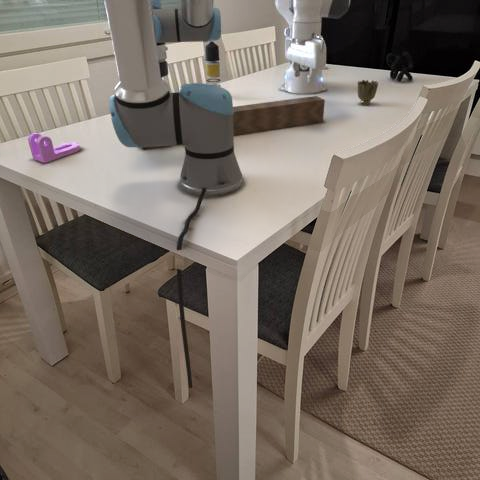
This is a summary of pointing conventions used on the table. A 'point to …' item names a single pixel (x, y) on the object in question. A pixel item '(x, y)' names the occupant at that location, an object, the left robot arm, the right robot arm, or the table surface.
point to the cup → (366, 91)
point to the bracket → (49, 148)
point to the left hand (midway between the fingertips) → (162, 141)
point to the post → (276, 115)
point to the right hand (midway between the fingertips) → (303, 79)
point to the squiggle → (399, 66)
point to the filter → (212, 62)
